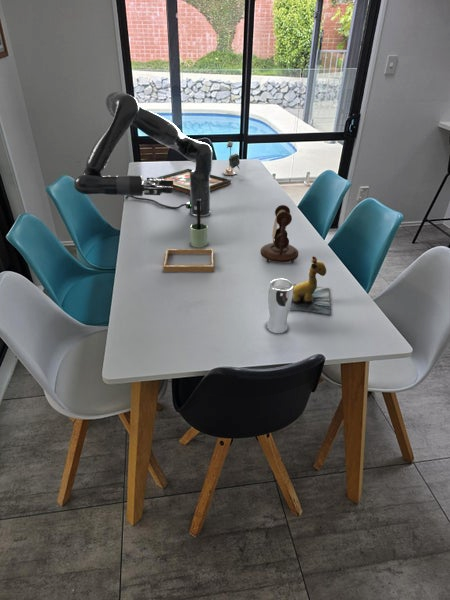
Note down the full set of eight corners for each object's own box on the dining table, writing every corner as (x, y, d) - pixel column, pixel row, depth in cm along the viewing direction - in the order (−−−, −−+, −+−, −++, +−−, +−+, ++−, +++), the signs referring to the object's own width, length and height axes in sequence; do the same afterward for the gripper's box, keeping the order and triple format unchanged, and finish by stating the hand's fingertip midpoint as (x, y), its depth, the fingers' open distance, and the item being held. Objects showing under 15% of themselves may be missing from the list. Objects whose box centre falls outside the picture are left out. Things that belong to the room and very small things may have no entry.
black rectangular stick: (197, 240, 167) (196, 199, 157) (200, 240, 167) (200, 199, 157) (197, 244, 164) (196, 202, 154) (200, 244, 164) (200, 202, 154)
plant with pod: (241, 175, 249) (242, 141, 238) (223, 175, 247) (224, 141, 236) (238, 171, 256) (240, 138, 244) (221, 172, 254) (221, 138, 243)
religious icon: (234, 181, 237) (234, 177, 236) (200, 198, 212) (200, 193, 211) (183, 171, 254) (183, 166, 252) (146, 185, 229) (146, 180, 227)
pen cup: (191, 240, 168) (190, 223, 164) (207, 240, 169) (207, 223, 164) (190, 248, 163) (189, 230, 158) (207, 248, 163) (207, 230, 158)
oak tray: (163, 272, 146) (163, 266, 145) (167, 254, 158) (166, 249, 156) (213, 272, 147) (213, 266, 145) (212, 254, 158) (212, 249, 157)
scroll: (259, 247, 164) (263, 200, 153) (295, 249, 164) (301, 201, 153) (261, 265, 152) (265, 215, 141) (299, 266, 151) (306, 216, 140)
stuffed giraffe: (330, 315, 125) (337, 269, 117) (272, 310, 128) (275, 265, 119) (328, 290, 138) (334, 247, 130) (276, 286, 141) (279, 244, 133)
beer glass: (263, 320, 122) (267, 278, 114) (286, 319, 123) (291, 277, 114) (267, 334, 116) (271, 291, 108) (291, 333, 117) (297, 290, 109)
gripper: (126, 181, 144) (172, 182, 145) (131, 170, 156) (173, 171, 157) (128, 201, 148) (172, 202, 149) (132, 189, 160) (173, 190, 161)
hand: (172, 186), depth 153 cm, fingers open, 8 cm apart
